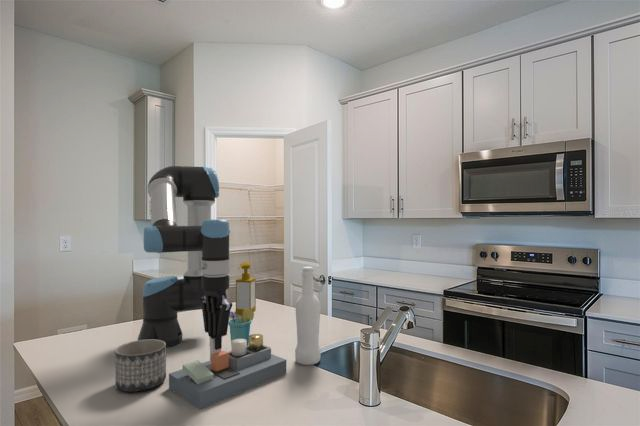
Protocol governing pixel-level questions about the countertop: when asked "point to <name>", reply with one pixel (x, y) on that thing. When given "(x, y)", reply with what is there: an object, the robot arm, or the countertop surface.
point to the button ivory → (239, 347)
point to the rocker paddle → (198, 371)
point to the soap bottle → (245, 290)
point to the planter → (140, 365)
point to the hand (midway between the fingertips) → (215, 359)
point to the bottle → (307, 322)
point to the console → (229, 377)
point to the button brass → (255, 342)
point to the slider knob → (219, 361)
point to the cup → (241, 325)
